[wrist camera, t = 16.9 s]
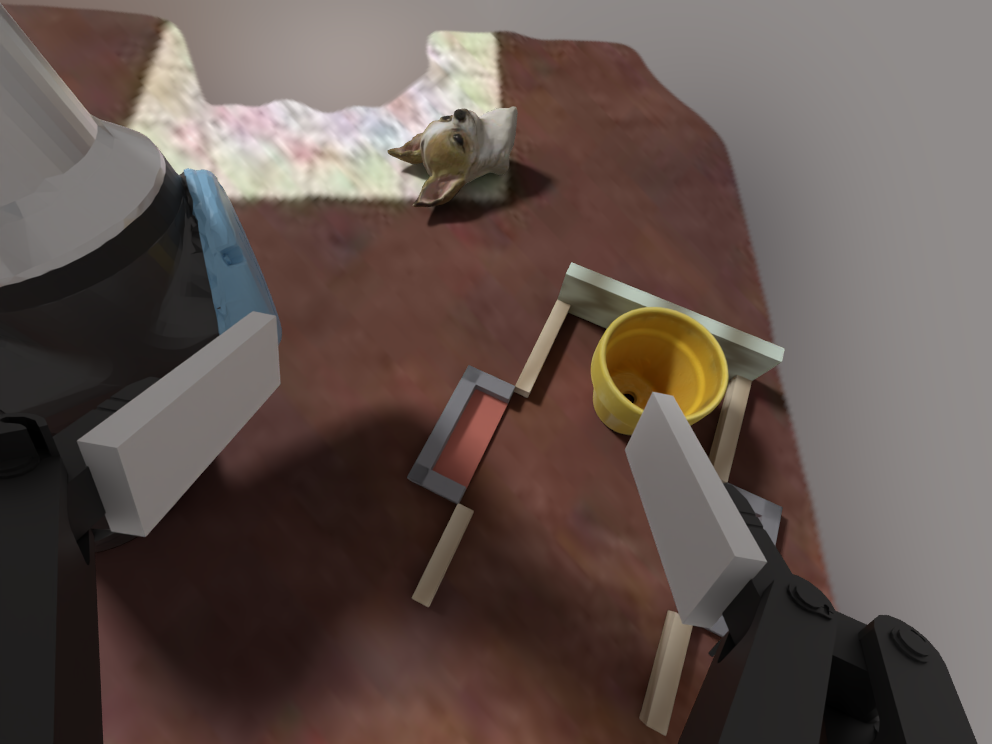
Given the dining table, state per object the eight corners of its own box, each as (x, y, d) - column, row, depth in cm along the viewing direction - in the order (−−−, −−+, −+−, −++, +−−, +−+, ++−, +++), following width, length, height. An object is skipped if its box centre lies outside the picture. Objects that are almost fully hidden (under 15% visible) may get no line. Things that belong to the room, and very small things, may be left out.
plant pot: (607, 337, 46) (639, 283, 37) (693, 392, 44) (751, 350, 35) (553, 411, 42) (575, 371, 33) (645, 475, 40) (695, 451, 31)
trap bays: (409, 480, 39) (406, 477, 38) (468, 371, 43) (468, 365, 42) (744, 648, 35) (755, 652, 34) (771, 509, 39) (782, 507, 38)
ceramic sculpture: (538, 124, 45) (404, 168, 43) (533, 187, 54) (419, 227, 51) (497, 64, 49) (372, 102, 47) (498, 132, 57) (391, 167, 55)
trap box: (413, 596, 35) (402, 604, 30) (560, 296, 47) (571, 262, 42) (657, 728, 33) (695, 763, 27) (746, 374, 45) (784, 348, 39)
